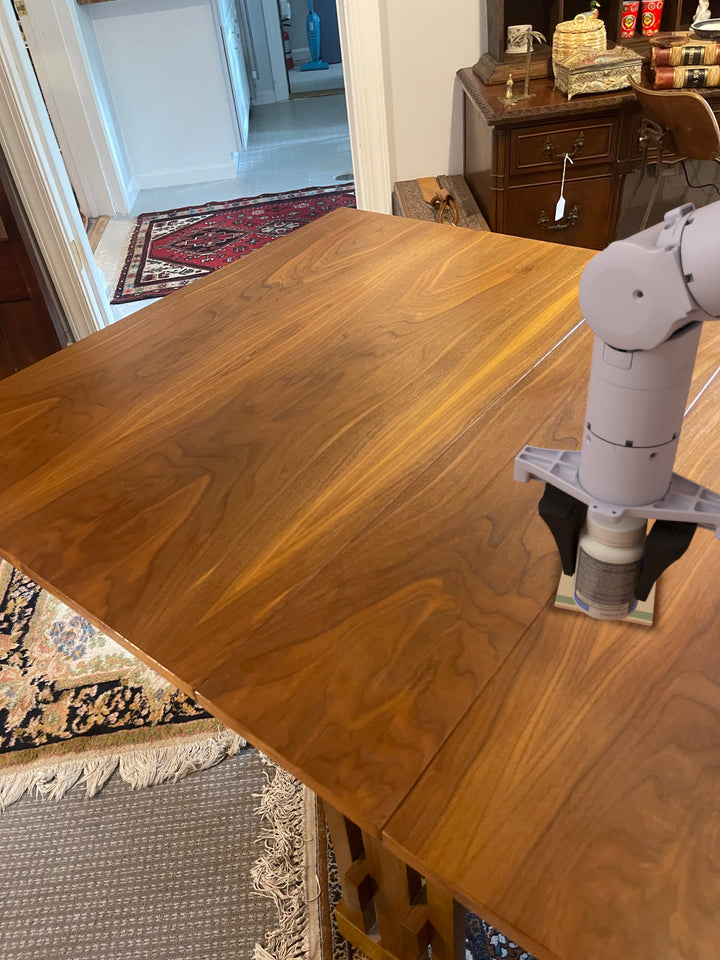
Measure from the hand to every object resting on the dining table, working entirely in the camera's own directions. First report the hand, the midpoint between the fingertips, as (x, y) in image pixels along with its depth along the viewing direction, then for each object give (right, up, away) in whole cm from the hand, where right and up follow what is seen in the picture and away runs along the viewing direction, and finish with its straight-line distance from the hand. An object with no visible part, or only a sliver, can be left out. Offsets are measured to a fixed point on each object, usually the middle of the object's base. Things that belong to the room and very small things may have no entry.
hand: (606, 579), depth 54 cm
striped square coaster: (+4, -2, +12) cm, 13 cm away
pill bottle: (0, -2, +1) cm, 2 cm away
